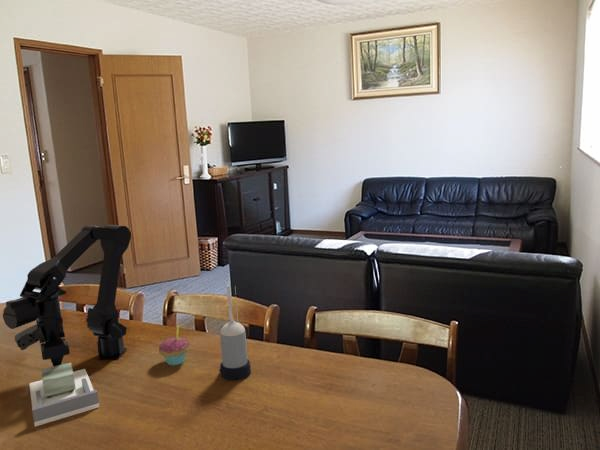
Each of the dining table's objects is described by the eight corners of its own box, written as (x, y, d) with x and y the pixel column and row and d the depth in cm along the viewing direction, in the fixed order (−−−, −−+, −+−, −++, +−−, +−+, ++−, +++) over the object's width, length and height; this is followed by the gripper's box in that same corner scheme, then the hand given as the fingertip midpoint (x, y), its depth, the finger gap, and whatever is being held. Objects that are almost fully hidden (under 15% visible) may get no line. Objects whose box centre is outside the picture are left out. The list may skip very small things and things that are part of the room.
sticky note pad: (44, 385, 131) (42, 369, 131) (73, 378, 135) (71, 362, 134) (45, 399, 124) (42, 381, 123) (75, 391, 127) (73, 374, 126)
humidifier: (217, 370, 137) (210, 283, 132) (246, 364, 140) (240, 278, 135) (223, 383, 130) (216, 292, 125) (254, 377, 132) (248, 287, 127)
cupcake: (194, 355, 147) (190, 316, 144) (185, 369, 138) (181, 328, 136) (166, 355, 148) (162, 317, 145) (155, 368, 139) (151, 328, 137)
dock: (29, 386, 134) (27, 369, 134) (85, 372, 141) (83, 355, 140) (35, 430, 114) (32, 410, 113) (99, 410, 121) (97, 392, 120)
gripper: (13, 310, 135) (22, 364, 138) (14, 334, 119) (24, 393, 122) (58, 302, 140) (66, 353, 143) (65, 323, 124) (73, 380, 127)
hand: (57, 369), depth 134 cm, fingers closed
